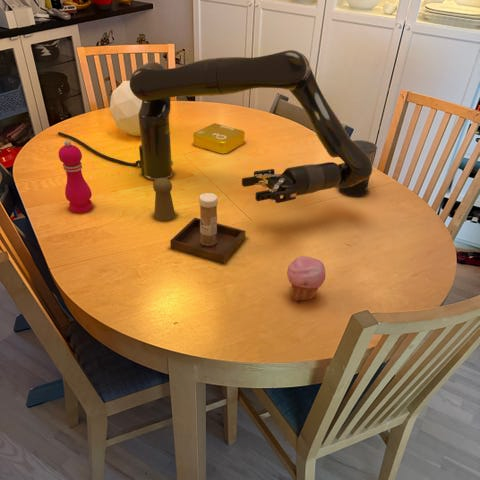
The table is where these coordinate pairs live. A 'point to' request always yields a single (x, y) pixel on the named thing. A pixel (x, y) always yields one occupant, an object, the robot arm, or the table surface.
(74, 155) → the pepper mill
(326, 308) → the table surface
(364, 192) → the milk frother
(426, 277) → the table surface
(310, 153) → the table surface
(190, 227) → the tray
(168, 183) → the olive chess pawn
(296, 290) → the cupcake
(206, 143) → the element tile
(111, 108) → the ball
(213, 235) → the sprinkles bottle
